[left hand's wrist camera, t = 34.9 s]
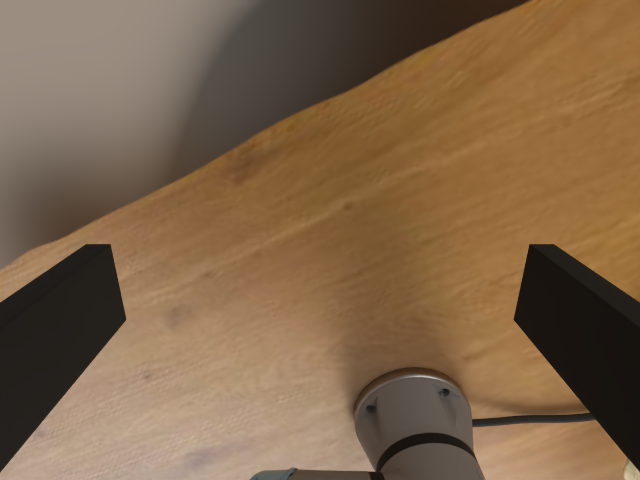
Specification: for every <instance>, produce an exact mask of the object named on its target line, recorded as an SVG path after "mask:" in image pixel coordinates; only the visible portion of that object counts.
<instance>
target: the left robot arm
mask: <svg viewBox="0 0 640 480" xmlns="http://www.w3.org/2000/svg"><path fill="white" fill-rule="evenodd" d="M125 321H126V316H125V311H124V306H123V301H122V297H121V292H120V287H119V282H118V278H117V273H116V268H115V263H114V259H113V254H112V249H111V244H86V245H84V246H83V247H81V248H80V249H78V250H77V251H75V252H74V253H73V254H71V255H70V256H68V257H67V258H65V259H64V260H62V261H61V262H59V263H58V264H56V265H55V266H53V267H52V268H50V269H49V270H48V271H46V272H45V273H43V274H42V275H40V276H39V277H37V278H36V279H34V280H33V281H31V282H30V283H28V284H27V285H25V286H24V287H23V288H21V289H20V290H18V291H17V292H15V293H14V294H12V295H11V296H9V297H8V298H6V299H5V300H3V301H2V302H0V472H1V471H2V470H3V468H4V467H5V466H6V465H7V464H8V462H9V461H10V460H11V459H12V458H13V456H14V455H15V454H16V453H17V451H18V450H19V449H20V448H21V447H22V445H23V444H24V443H25V442H26V441H27V439H28V438H29V437H30V436H31V435H32V433H33V432H34V431H35V430H36V428H37V427H38V426H39V425H40V424H41V422H42V421H43V420H44V419H45V418H46V416H47V415H48V414H49V413H50V412H51V410H52V409H53V408H54V407H55V405H56V404H57V403H58V402H59V401H60V399H61V398H62V397H63V396H64V395H65V393H66V392H67V391H68V390H69V389H70V387H71V386H72V385H73V384H74V382H75V381H76V380H77V379H78V378H79V376H80V375H81V374H82V373H83V372H84V370H85V369H86V368H87V367H88V366H89V364H90V363H91V362H92V361H93V359H94V358H95V357H96V356H97V355H98V353H99V352H100V351H101V350H102V349H103V347H104V346H105V345H106V344H107V343H108V341H109V340H110V339H111V338H112V336H113V335H114V334H115V333H116V332H117V330H118V329H119V328H120V327H121V326H122V324H123V323H124V322H125ZM514 321H515V322H516V323H517V324H518V326H519V327H520V328H521V329H522V330H523V332H524V333H525V334H526V335H527V336H528V338H529V339H530V340H531V341H532V343H533V344H534V345H535V346H536V347H537V349H538V350H539V351H540V352H541V353H542V355H543V356H544V357H545V358H546V359H547V361H548V362H549V363H550V364H551V366H552V367H553V368H554V369H555V370H556V372H557V373H558V374H559V375H560V376H561V378H562V379H563V380H564V381H565V382H566V384H567V385H568V386H569V387H570V389H571V390H572V391H573V392H574V393H575V395H576V396H577V397H578V398H579V399H580V401H581V402H582V403H583V404H584V405H585V407H586V408H587V409H588V410H589V412H590V413H584V414H573V415H527V416H511V417H501V418H488V419H472V415H471V409H470V405H469V403H468V401H467V399H466V397H465V394H464V392H463V391H462V389H461V388H460V386H459V385H458V384H457V383H456V382H455V381H454V380H453V379H451V378H450V377H448V376H447V375H445V374H443V373H440V372H438V371H435V370H431V369H425V368H405V369H400V370H396V371H392V372H390V373H387V374H385V375H383V376H381V377H379V378H377V379H376V380H374V381H373V382H372V383H370V384H369V385H368V386H367V387H366V388H365V389H364V391H363V392H362V393H361V395H360V396H359V398H358V400H357V403H356V406H355V411H354V419H355V428H356V433H357V436H358V439H359V441H360V443H361V445H362V447H363V449H364V451H365V453H366V455H367V457H368V459H369V460H370V462H371V464H372V466H373V468H374V470H375V472H367V471H319V470H298V469H297V468H291V469H289V470H273V471H261V472H259V473H257V474H255V475H254V476H253V477H252V478H251V479H250V480H485V478H484V476H483V473H482V471H481V469H480V466H479V464H478V462H477V459H476V457H475V454H474V451H473V431H472V427H484V426H498V425H508V424H519V423H567V422H582V421H591V420H597V421H598V422H599V424H600V425H601V426H602V427H603V428H604V430H605V431H606V432H607V433H608V435H609V436H610V437H611V438H612V439H613V441H614V442H615V443H616V444H617V445H618V447H619V448H620V449H621V450H622V451H623V453H624V454H625V455H626V456H627V458H628V459H629V460H630V461H631V462H632V464H633V465H634V466H635V467H636V468H637V470H638V471H639V472H640V302H638V301H637V300H635V299H634V298H632V297H631V296H629V295H628V294H626V293H625V292H623V291H622V290H620V289H619V288H617V287H616V286H615V285H613V284H612V283H610V282H609V281H607V280H606V279H604V278H603V277H601V276H600V275H598V274H597V273H595V272H594V271H592V270H591V269H590V268H588V267H587V266H585V265H584V264H582V263H581V262H579V261H578V260H576V259H575V258H573V257H572V256H570V255H569V254H567V253H566V252H565V251H563V250H562V249H560V248H559V247H557V246H556V245H554V244H529V249H528V254H527V259H526V263H525V268H524V273H523V278H522V282H521V287H520V292H519V297H518V301H517V306H516V311H515V316H514Z"/></svg>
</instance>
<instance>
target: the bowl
mask: <svg viewBox="0 0 640 480" xmlns="http://www.w3.org/2000/svg"><path fill="white" fill-rule="evenodd" d="M623 476H624V480H640V472H639V471H638V470H637V468H636V467H635V466H634V465H633V464H632V462H631V461H630V460H629V459H627V461H626V463H625V466H624V469H623Z"/></svg>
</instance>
